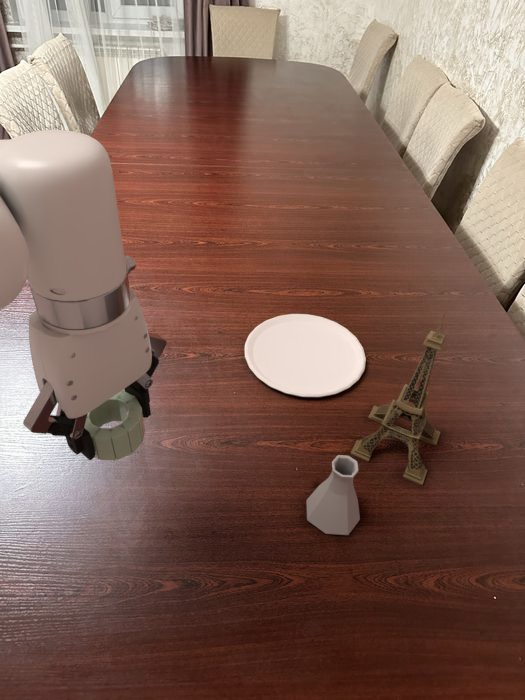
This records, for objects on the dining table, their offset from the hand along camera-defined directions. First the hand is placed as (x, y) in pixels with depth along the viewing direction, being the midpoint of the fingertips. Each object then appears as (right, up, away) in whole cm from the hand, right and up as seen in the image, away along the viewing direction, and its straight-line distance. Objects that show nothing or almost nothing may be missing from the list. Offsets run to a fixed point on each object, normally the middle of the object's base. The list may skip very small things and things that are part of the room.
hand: (112, 429), depth 55 cm
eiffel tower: (+36, -6, +22) cm, 42 cm away
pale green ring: (0, -1, +1) cm, 1 cm away
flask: (+25, -13, +13) cm, 31 cm away
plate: (+23, +7, +35) cm, 42 cm away
